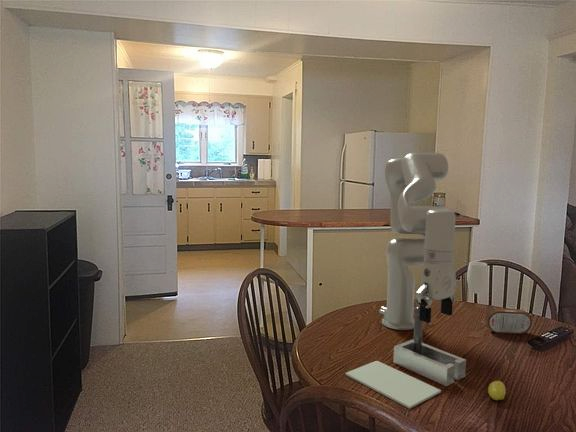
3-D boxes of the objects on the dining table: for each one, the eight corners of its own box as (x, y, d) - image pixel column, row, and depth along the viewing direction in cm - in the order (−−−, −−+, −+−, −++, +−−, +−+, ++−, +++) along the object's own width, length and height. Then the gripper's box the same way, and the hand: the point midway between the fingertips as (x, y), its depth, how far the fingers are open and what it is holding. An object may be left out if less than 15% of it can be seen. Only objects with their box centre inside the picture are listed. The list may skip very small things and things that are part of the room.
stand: (405, 363, 139) (408, 306, 136) (415, 359, 141) (417, 303, 139) (418, 369, 135) (421, 310, 133) (427, 364, 138) (430, 307, 136)
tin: (528, 332, 164) (530, 308, 163) (532, 335, 161) (534, 312, 160) (484, 330, 166) (485, 307, 164) (487, 333, 163) (488, 310, 161)
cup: (484, 314, 182) (487, 262, 179) (485, 320, 175) (489, 266, 172) (464, 312, 184) (467, 260, 181) (464, 318, 177) (468, 264, 174)
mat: (345, 374, 132) (345, 372, 131) (376, 362, 139) (376, 360, 139) (409, 408, 114) (409, 406, 114) (440, 392, 122) (441, 390, 122)
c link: (393, 362, 140) (394, 346, 139) (412, 354, 145) (412, 339, 144) (446, 386, 125) (447, 368, 125) (465, 376, 131) (466, 359, 130)
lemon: (507, 393, 123) (508, 379, 122) (503, 406, 116) (504, 392, 115) (490, 388, 125) (491, 374, 124) (484, 402, 118) (486, 387, 117)
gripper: (431, 262, 117) (428, 328, 119) (469, 254, 127) (466, 315, 129) (406, 257, 123) (404, 320, 125) (445, 249, 133) (442, 308, 135)
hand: (435, 317), depth 127 cm, fingers open, 9 cm apart
